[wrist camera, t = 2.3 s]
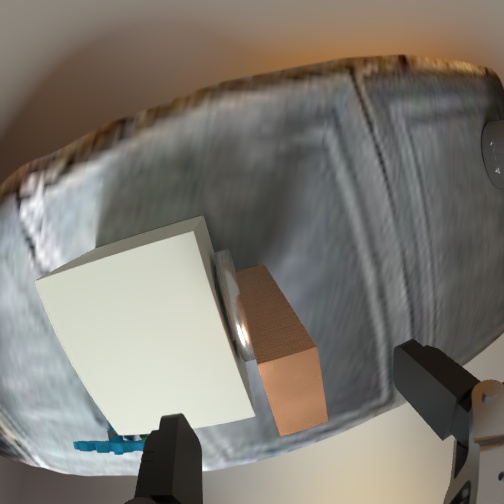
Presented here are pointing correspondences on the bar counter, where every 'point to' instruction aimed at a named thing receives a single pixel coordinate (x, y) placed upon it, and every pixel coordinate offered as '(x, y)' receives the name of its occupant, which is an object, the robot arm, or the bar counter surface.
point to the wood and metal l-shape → (272, 343)
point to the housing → (150, 330)
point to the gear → (112, 444)
